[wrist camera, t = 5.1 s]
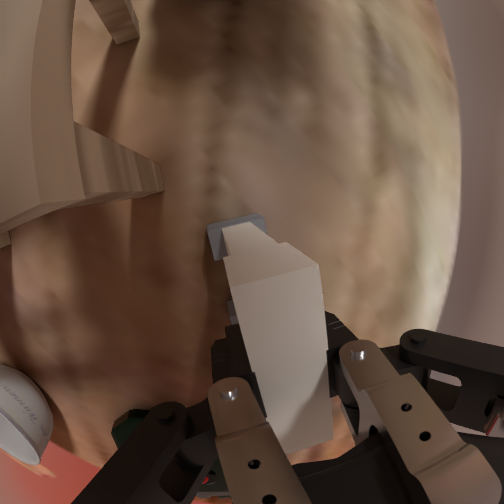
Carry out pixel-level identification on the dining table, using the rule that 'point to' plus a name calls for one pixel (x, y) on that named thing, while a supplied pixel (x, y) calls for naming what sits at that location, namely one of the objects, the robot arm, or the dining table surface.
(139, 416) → the four-lobed dark green device
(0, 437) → the teacup
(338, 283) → the dining table surface
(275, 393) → the white rectangular prism
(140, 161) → the beige wooden frame
